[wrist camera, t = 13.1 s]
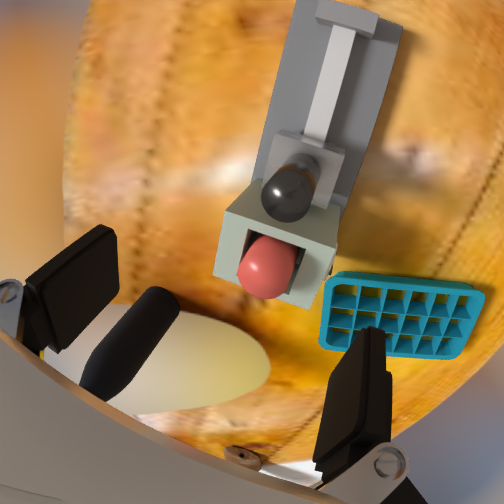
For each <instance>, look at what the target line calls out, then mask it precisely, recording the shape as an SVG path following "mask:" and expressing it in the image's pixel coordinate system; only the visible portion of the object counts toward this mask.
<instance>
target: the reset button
mask: <svg viewBox="0 0 504 504" xmlns="http://www.w3.org/2000/svg"><path fill="white" fill-rule="evenodd" d="M300 248H301V247H299V246H296V245H294V244H291V243H288V242H285V241H282V240H279V239H277V238H274V237H271V236H268V235H265V234H262V233H259V234H258V236H257V237H256V239H255V240H254V242H253V244H252V245H251V247H250V249H249V250H248V252H247V253H246V255H245V257H244V258H243V260H242V261H241V263H240V265H239V267H238V271H237V274H238V279H239V282H240V284H241V285H242V287H243V288H244V289H245V290H246V291H247V292H248V293H250V294H251V295H253V296H256V297H258V298H262V299H273V298H276V297H278V296H280V295H282V294H283V293H284V292H285V291H286V289H287V287H288V284H289V281H290V278H291V275H292V272H293V269H294V266H295V263H296V260H297V257H298V254H299V251H300Z"/></svg>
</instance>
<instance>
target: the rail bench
mask: <svg viewBox="0 0 504 504" xmlns="http://www.w3.org/2000/svg"><path fill="white" fill-rule="evenodd" d="M378 16H379V14H377V13H374V12H371V11H367V10H364V9H361V8H358V7H354V6H351V5H348V4H344V3H340V2H336V1H333V0H296V4H295V8H294V12H293V15H292V19H291V23H290V27H289V31H288V34H287V38H286V42H285V46H284V50H283V54H282V58H281V62H280V66H279V70H278V73H277V77H276V81H275V85H274V89H273V93H272V97H271V101H270V105H269V109H268V114H267V118H266V122H265V126H264V130H263V134H262V138H261V142H260V146H259V150H258V155H257V159H256V163H255V167H254V171H253V176H252V180H251V184H250V185H249V186H248V187H247V188H246V189H245V191H244V192H243V193H242V194H241V195H240V196H239V197H238V198H237V199H236V200H235V201H234V202H233V203H232V204H231V205H230V206H229V207H228V208H227V209H226V210H225V213H224V218H223V223H222V228H221V234H220V239H219V244H218V249H217V255H216V260H215V265H214V271H213V275H214V276H217V277H219V278H222V279H225V280H227V281H230V282H233V283H235V284H238V285H241V284H240V282H239V279H238V274H237V271H238V267H239V265H240V263H241V261H242V260H243V258H244V257H245V255H246V253H247V252H248V250H249V249H250V247H251V245H252V244H253V242H254V240H255V239H256V237H257V236H258V234H259V233H262V234H265V235H268V236H271V237H274V238H277V239H279V240H282V241H285V242H288V243H291V244H294V245H296V246H299V247H301V248H300V251H299V254H298V257H297V260H296V263H295V266H294V269H293V272H292V275H291V278H290V281H289V284H288V287H287V289H286V291H285V292H284V293H283V294H282V295H280V296H278V297H276V299H279V300H281V301H284V302H287V303H290V304H293V305H295V306H298V307H301V308H304V309H307V310H309V309H310V306H311V304H312V302H313V300H314V298H315V296H316V293H317V291H318V289H319V287H320V284H321V282H322V280H323V281H325V280H326V278H327V276H328V275H331V273H332V268H333V261H334V258H335V255H336V252H337V247H338V243H337V235H338V226H339V223H340V220H341V218H342V215H343V212H344V210H345V207H346V205H347V202H348V199H349V197H350V194H351V191H352V189H353V186H354V183H355V180H356V178H357V175H358V172H359V169H360V167H361V164H362V161H363V158H364V155H365V152H366V149H367V146H368V144H369V141H370V138H371V135H372V132H373V129H374V126H375V122H376V119H377V116H378V113H379V110H380V107H381V104H382V100H383V97H384V94H385V91H386V87H387V84H388V80H389V77H390V74H391V70H392V67H393V63H394V59H395V56H396V52H397V48H398V45H399V41H400V37H401V33H402V29H403V26H400V25H398V24H395V23H392V22H390V21H387V20H384V19H381V18H378ZM281 129H284V130H287V131H291V132H293V131H298V132H300V134H301V135H304V136H307V137H310V138H313V139H316V140H319V141H322V142H325V143H329V142H332V143H335V146H337V147H340V148H343V149H345V157H344V160H343V163H342V166H341V169H340V172H339V175H338V178H337V181H336V183H335V186H334V189H333V192H332V195H331V198H330V200H329V203H328V206H327V209H324V208H321V207H318V206H315V205H313V204H311V205H310V207H309V210H308V212H307V214H306V215H305V216H304V217H303V218H301V219H300V220H298V221H296V222H292V223H284V222H280V221H277V220H275V219H273V218H272V217H270V216H269V215H268V214H267V213H266V211H265V210H264V208H263V205H262V202H261V193H262V189H263V188H262V187H261V185H262V181H263V177H264V173H265V169H266V165H267V161H268V158H269V154H270V150H271V146H272V142H273V138H274V134H275V133H276V132H278V131H279V130H281ZM241 286H242V285H241Z"/></svg>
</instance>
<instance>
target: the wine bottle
mask: <svg viewBox="0 0 504 504" xmlns="http://www.w3.org/2000/svg"><path fill="white" fill-rule="evenodd" d="M179 311H180V308H179V304H178V302H177V300H176V299H175V297H174V296H173V295H172V294H171V293H169V292H168V291H167V290H165V289H163V288H161V287H156V286H155V287H150V288H148V289H147V290H146V291H145V292H144V293H143V294H142V295H141V297H140V298H139V299H138V300H137V301H136V302H135V303H134V304H133V305H132V307H131V308H130V309H129V310H128V311H127V312H126V313H125V314H124V316H123V317H122V318H121V319H120V320H119V321H118V322H117V324H116V325H115V326H114V327H113V328H112V329H111V330H110V332H109V333H108V334H107V335H106V336H105V337H104V339H103V340H102V341H101V342H100V343H99V344H98V346H97V347H96V348H95V349H94V350H93V352H92V354H91V356H90V357H89V359H88V361H87V363H86V365H85V368H84V371H83V374H82V377H81V380H80V383H79V386H80V387H82V388H83V389H85V390H86V391H88V392H90V393H91V394H93V395H94V396H96V397H97V398H99V399H101V400H102V401H104V402H107V401H108V400H110V399H111V398H113V397H114V396H116V395H117V394H118V393H120V392H121V391H122V390H123V389H124V388H125V387H126V386H127V385H128V384H129V383H130V382H131V381H132V379H133V378H134V377H135V375H136V374H137V372H138V371H139V370H140V368H141V367H142V365H143V364H144V362H145V361H146V360H147V358H148V357H149V355H150V354H151V353H152V351H153V350H154V348H155V347H156V345H157V344H158V343H159V341H160V340H161V338H162V337H163V336H164V334H165V333H166V332H167V330H168V329H169V327H170V326H171V325H172V323H173V322H174V320H175V319H176V318H177V316H178V315H179Z"/></svg>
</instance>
